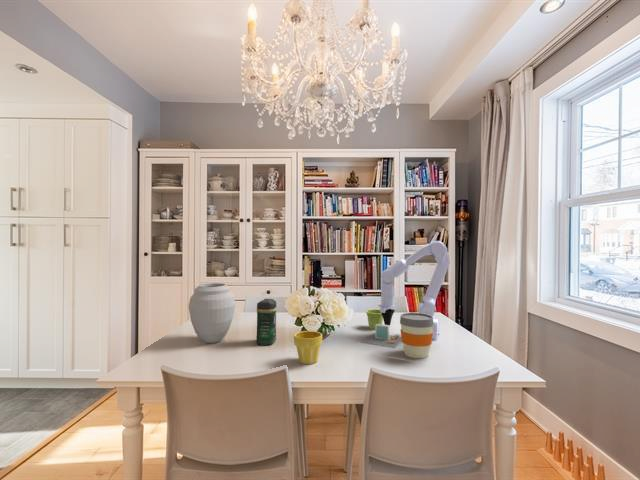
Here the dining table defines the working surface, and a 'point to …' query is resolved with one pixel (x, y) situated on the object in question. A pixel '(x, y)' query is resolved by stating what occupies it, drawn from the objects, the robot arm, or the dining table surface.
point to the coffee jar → (266, 322)
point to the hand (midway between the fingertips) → (387, 325)
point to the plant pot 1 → (308, 346)
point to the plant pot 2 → (374, 318)
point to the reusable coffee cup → (416, 334)
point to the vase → (211, 311)
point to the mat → (381, 341)
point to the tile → (383, 331)
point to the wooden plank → (393, 339)
